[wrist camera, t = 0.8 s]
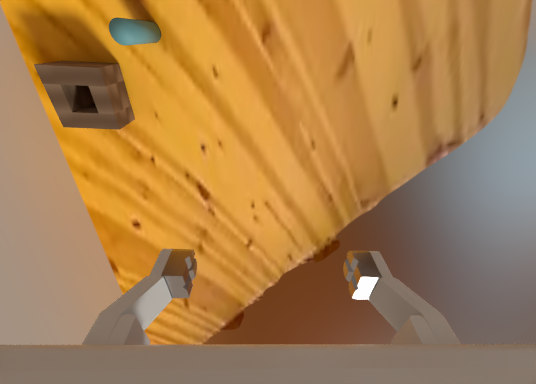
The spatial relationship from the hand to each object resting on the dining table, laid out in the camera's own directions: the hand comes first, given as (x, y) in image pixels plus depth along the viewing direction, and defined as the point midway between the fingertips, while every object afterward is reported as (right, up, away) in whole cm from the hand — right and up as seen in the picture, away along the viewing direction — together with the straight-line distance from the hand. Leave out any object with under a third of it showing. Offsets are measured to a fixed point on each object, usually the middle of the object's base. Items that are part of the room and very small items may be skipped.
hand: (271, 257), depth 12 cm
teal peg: (-20, +30, +26) cm, 45 cm away
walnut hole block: (-32, +23, +32) cm, 51 cm away
